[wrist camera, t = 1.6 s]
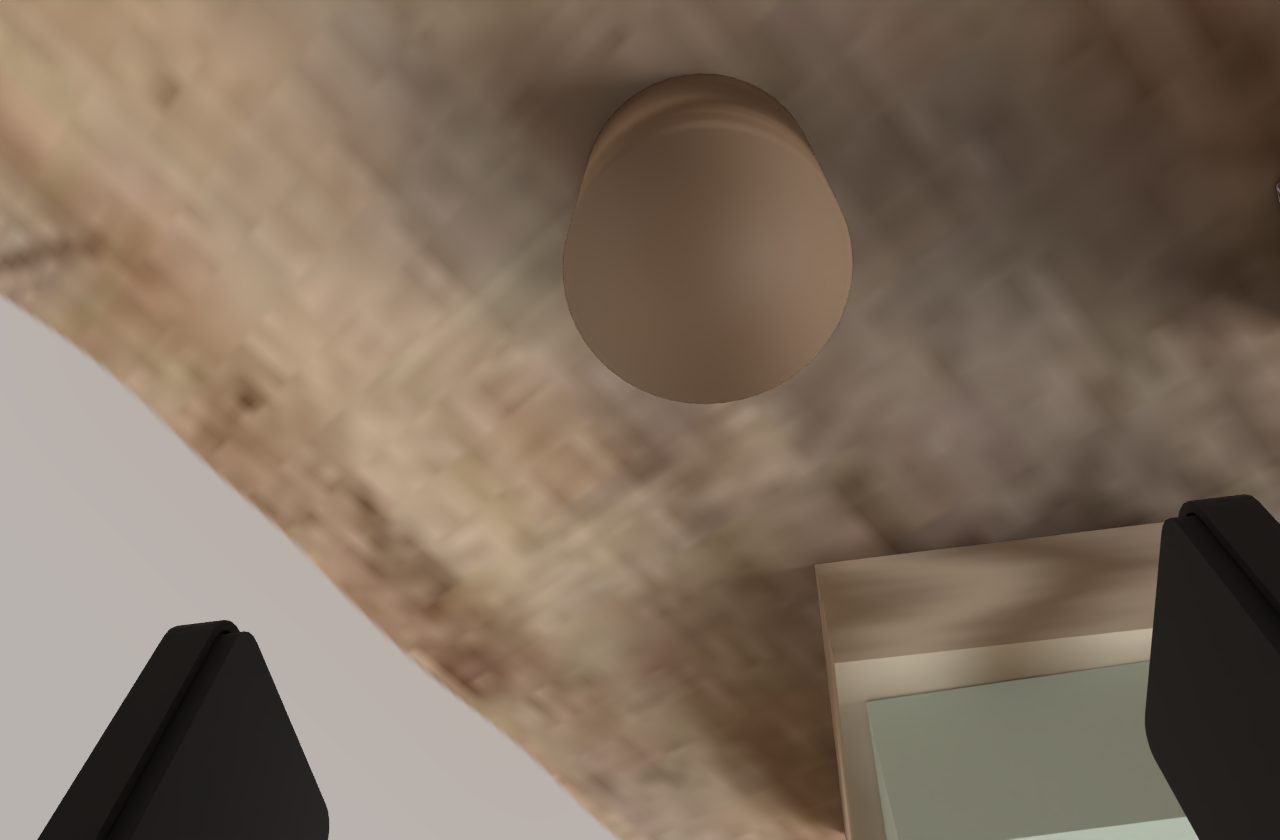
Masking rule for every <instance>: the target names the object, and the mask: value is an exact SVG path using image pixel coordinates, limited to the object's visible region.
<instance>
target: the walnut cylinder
mask: <svg viewBox="0 0 1280 840" xmlns="http://www.w3.org/2000/svg"><path fill="white" fill-rule="evenodd" d="M851 280H852V248H851V241H850V235H849V232H848V228H847V225H846V221H845V218H844V216H843V214H842V212H841V209H840V207H839V205H838V203H837V201H836V199H835V197H834V194H833V192H832V190H831V188H830V186H829V184H828V182H827V180H826V178H825V176H824V174H823V172H822V170H821V168H820V166H819V163H818V161H817V159H816V157H815V155H814V153H813V151H812V149H811V147H810V145H809V143H808V141H807V139H806V137H805V134H804V133H803V131H802V129H801V128H800V126H799V125H798V123H797V122H796V120H795V119H794V118H793V117H792V115H791V114H790V113H789V112H788V111H787V109H786V108H785V107H784V106H782V105H781V104H780V103H779V102H778V101H777V100H776V99H775V98H773V97H772V96H770V95H769V94H767V93H766V92H764V91H763V90H761V89H759V88H757V87H755V86H753V85H751V84H749V83H747V82H744V81H741V80H738V79H735V78H732V77H727V76H721V75H715V74H693V75H683V76H679V77H674V78H670V79H667V80H664V81H661V82H659V83H656V84H653V85H651V86H650V87H648V88H646V89H644V90H642V91H640V92H639V93H637V94H636V95H635V96H633V97H632V98H630V99H629V100H628V101H626V102H625V103H624V104H623V105H622V106H621V107H620V108H619V109H618V110H617V111H616V112H615V113H614V114H613V115H612V116H611V118H610V119H609V120H608V121H607V123H606V124H605V125H604V127H603V129H602V130H601V132H600V134H599V135H598V137H597V139H596V141H595V143H594V146H593V148H592V150H591V153H590V156H589V159H588V163H587V166H586V170H585V174H584V177H583V181H582V185H581V188H580V192H579V195H578V199H577V203H576V206H575V210H574V214H573V217H572V221H571V224H570V228H569V232H568V235H567V239H566V243H565V250H564V257H563V281H564V289H565V296H566V299H567V303H568V307H569V310H570V313H571V316H572V318H573V320H574V323H575V325H576V327H577V329H578V331H579V333H580V334H581V336H582V338H583V339H584V341H585V343H586V344H587V345H588V347H589V348H590V349H591V350H592V352H593V353H594V354H595V356H596V357H597V358H598V359H599V360H600V361H601V362H602V363H603V364H604V365H605V366H606V367H607V368H608V369H610V370H611V371H612V372H613V373H615V374H616V375H617V376H619V377H620V378H621V379H623V380H624V381H626V382H628V383H630V384H631V385H633V386H635V387H637V388H638V389H641V390H643V391H645V392H648V393H650V394H652V395H655V396H658V397H662V398H665V399H669V400H673V401H679V402H685V403H696V404H713V403H726V402H731V401H736V400H742V399H745V398H748V397H751V396H755V395H758V394H760V393H763V392H765V391H767V390H769V389H772V388H774V387H776V386H778V385H779V384H781V383H783V382H784V381H786V380H788V379H789V378H791V377H792V376H794V375H795V374H796V373H797V372H799V371H800V370H801V369H803V368H804V367H805V366H806V365H807V364H808V363H809V362H810V361H811V360H812V359H813V358H814V357H815V356H816V355H817V354H818V353H819V352H820V350H821V349H822V348H823V347H824V345H825V344H826V343H827V342H828V340H829V339H830V337H831V335H832V334H833V332H834V330H835V329H836V327H837V325H838V323H839V321H840V319H841V316H842V314H843V312H844V309H845V307H846V303H847V299H848V296H849V292H850V287H851Z"/></svg>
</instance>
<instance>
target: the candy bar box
mask: <svg viewBox="0 0 1280 840" xmlns="http://www.w3.org/2000/svg"><path fill="white" fill-rule="evenodd" d="M1276 189H1277V193H1278V198H1279V202H1280V182H1279V183H1278V184H1277V185H1276Z"/></svg>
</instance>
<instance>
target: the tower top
mask: <svg viewBox="0 0 1280 840" xmlns="http://www.w3.org/2000/svg"><path fill="white" fill-rule="evenodd" d="M1149 664H1150V661H1145V662H1138V663H1131V664H1124V665H1117V666H1110V667H1104V668H1097V669H1090V670H1083V671H1076V672H1069V673H1062V674H1055V675H1049V676H1042V677H1035V678H1028V679H1021V680H1014V681H1007V682H1000V683H993V684H987V685H980V686H973V687H966V688H959V689H952V690H945V691H938V692H931V693H925V694H918V695H911V696H904V697H897V698H890V699H883V700H876V701H870V702H866V708H867V715H868V721H869V728H870V734H871V741H872V748H873V754H874V761H875V767H876V774H877V780H878V787H879V794H880V800H881V807H882V813H883V820H884V827H885V833H886V840H1199V839H1198V837H1197V835H1196V833H1195V831H1194V830H1193V828H1192V826H1191V824H1190V822H1189V821H1188V819H1187V817H1186V815H1185V813H1184V812H1183V810H1182V808H1181V806H1180V804H1179V802H1178V801H1177V799H1176V797H1175V795H1174V793H1173V792H1172V790H1171V788H1170V786H1169V784H1168V783H1167V781H1166V779H1165V777H1164V775H1163V773H1162V772H1161V770H1160V768H1159V766H1158V764H1157V763H1156V761H1155V759H1154V757H1153V755H1152V753H1151V750H1150V747H1149V744H1148V740H1147V736H1146V731H1145V708H1146V697H1147V686H1148V675H1149Z"/></svg>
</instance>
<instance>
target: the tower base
mask: <svg viewBox="0 0 1280 840" xmlns="http://www.w3.org/2000/svg"><path fill="white" fill-rule="evenodd" d="M1163 524H1164V522H1160V523H1152V524H1144V525H1135V526H1127V527H1119V528H1111V529H1102V530H1094V531H1086V532H1078V533H1069V534H1061V535H1053V536H1045V537H1036V538H1028V539H1020V540H1012V541H1004V542H995V543H987V544H979V545H971V546H962V547H954V548H946V549H938V550H929V551H921V552H913V553H905V554H897V555H888V556H880V557H872V558H864V559H855V560H847V561H839V562H831V563H822V564H815V572H816V581H817V590H818V599H819V608H820V617H821V625H822V634H823V643H824V652H825V661H826V670H827V679H828V688H829V696H830V705H831V714H832V723H833V732H834V741H835V750H836V758H837V767H838V776H839V785H840V794H841V803H842V812H843V821H844V829H845V837H846V840H886V833H885V827H884V820H883V813H882V807H881V800H880V794H879V787H878V780H877V774H876V767H875V761H874V754H873V748H872V741H871V734H870V728H869V721H868V715H867V708H866V702H870V701H876V700H883V699H890V698H897V697H904V696H911V695H918V694H925V693H931V692H938V691H945V690H952V689H959V688H966V687H973V686H980V685H987V684H993V683H1000V682H1007V681H1014V680H1021V679H1028V678H1035V677H1042V676H1049V675H1055V674H1062V673H1069V672H1076V671H1083V670H1090V669H1097V668H1104V667H1110V666H1117V665H1124V664H1131V663H1138V662H1145V661H1150V653H1151V642H1152V631H1153V619H1154V608H1155V597H1156V586H1157V575H1158V564H1159V553H1160V542H1161V532H1162V527H1163Z"/></svg>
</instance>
